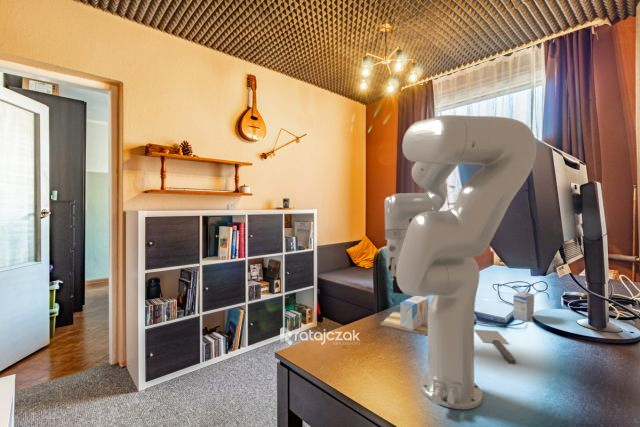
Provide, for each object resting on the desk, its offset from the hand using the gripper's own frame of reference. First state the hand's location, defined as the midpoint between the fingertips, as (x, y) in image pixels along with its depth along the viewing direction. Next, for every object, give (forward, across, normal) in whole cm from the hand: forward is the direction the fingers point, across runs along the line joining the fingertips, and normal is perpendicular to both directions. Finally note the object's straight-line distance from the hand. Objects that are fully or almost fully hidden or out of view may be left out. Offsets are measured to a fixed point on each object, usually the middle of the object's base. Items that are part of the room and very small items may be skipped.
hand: (398, 292), depth 94 cm
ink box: (+10, +7, 0) cm, 12 cm away
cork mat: (+14, +14, +1) cm, 20 cm away
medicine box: (+14, +41, -34) cm, 55 cm away
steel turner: (+15, +11, -26) cm, 32 cm away
